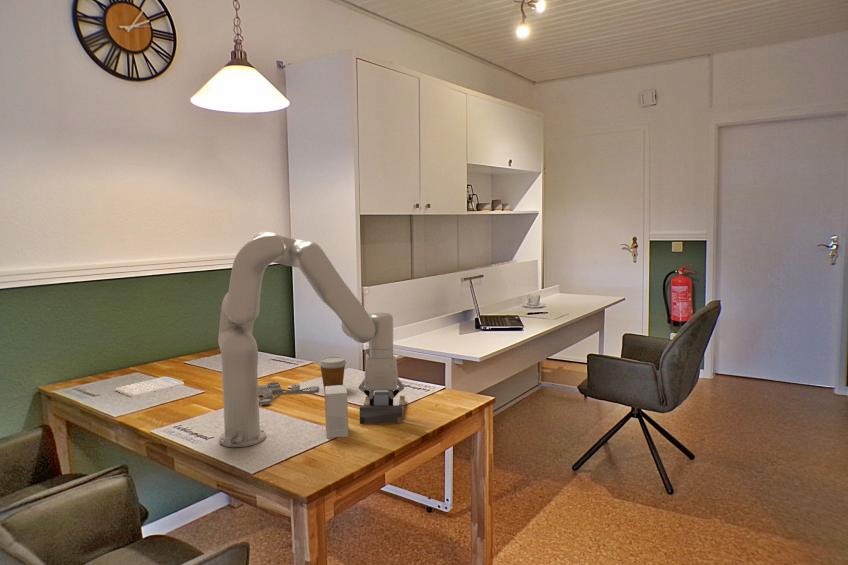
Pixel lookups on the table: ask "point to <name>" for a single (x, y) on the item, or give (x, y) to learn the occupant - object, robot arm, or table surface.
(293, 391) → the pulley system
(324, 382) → the disposable coffee cup
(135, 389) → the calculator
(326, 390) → the small box
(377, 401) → the block
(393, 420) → the guide channel
